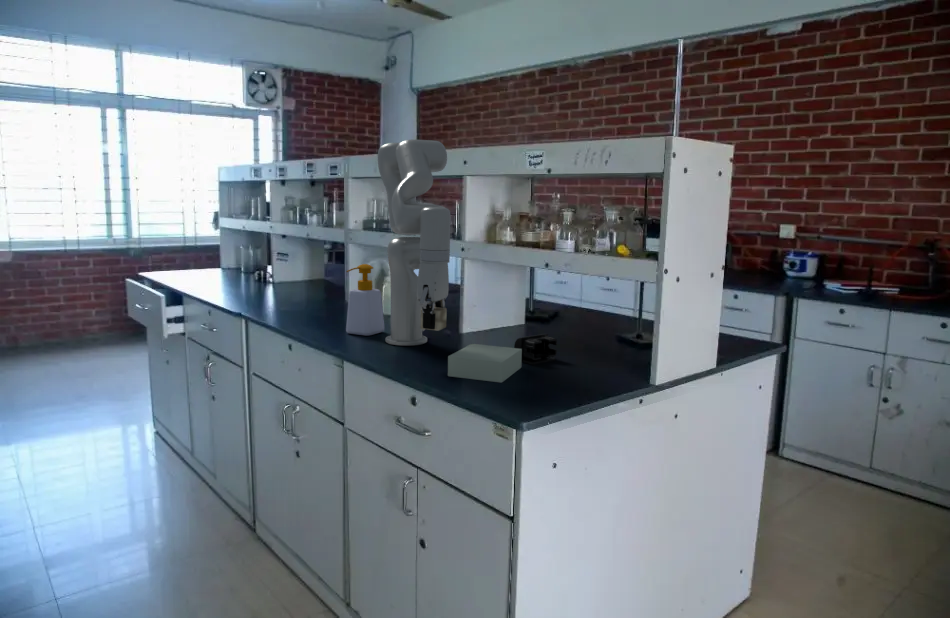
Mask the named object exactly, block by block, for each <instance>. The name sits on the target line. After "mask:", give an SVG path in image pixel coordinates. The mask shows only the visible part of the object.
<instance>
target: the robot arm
mask: <svg viewBox="0 0 950 618" xmlns="http://www.w3.org/2000/svg"><path fill="white" fill-rule="evenodd" d="M446 149H447V148H446V147H445V145H444V144H443V143H442V142H441V141H439V140H431V139H430V140H429V139H427V140H426V139H404V140H403V141H401V142H388V143H385V144H383V145H381V146H380V147H379V149H378V152H377V167H378V172H379V176H380V178H381V181H382V183H383V185H384V188H385V190H386V195H387V196H386V198H387V207H388V208H387V209H388V219H389V226H390V228H391V231H392V232H393V233H395V234H396V235H404V236H401V237H400V236H399V237H396V238H394V239H391V240H390V242H389V243H388V245H387V260H388V266H389V273H390V274H389V278H390V335H388V336H386V337H385V342H386V343H387V344H389V345H393V346H394V345H395V346H407V347H408V346H420V345H423V344H426V343H427V342H428V337H427V336H425V335H423V332H424V331H425V330H427V329H435V314H434V307H440V308H446V300H447V297H448V295H449V291H450V289H449V288H450V287H449V286H450V285H449V282H450V279H449V277H450V276H449V264H450V257H451V256H450V255H451V254H450V253H451V251H450V249H451V211H450V209H449V208H447V207H444V206H443V205H438V204H434V203H423V202H422V203H421V202H417V198H416V197H419V196H421V195H424V194H425V193H427V192H428V191H429V190H430V189H431V188H432V186H433V184H434V177H433V173H437V172H438V173H439V172H442V171H443V170H444V169H445V168H446V165H447V162H448V153H447V150H446ZM415 235H416V236H415ZM416 270H418V274H417V273H416V272H415V271H416ZM421 309H422V313H423V328H425V329H421Z"/></svg>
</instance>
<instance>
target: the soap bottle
mask: <svg viewBox="0 0 950 618" xmlns="http://www.w3.org/2000/svg"><path fill="white" fill-rule="evenodd" d="M373 269H374V267H373V266H372V265H370V264H368V263H361V264H360V265H358V266H357V267H352V268H350V269H347V270H346V273H349V272H351V271H354V270H358V273H359V274H362V279H360V280H357V288H355V289H352V290H350V291H349V293H348V303H347V313H346V326H345V332H346V333H347V334H350V335H357V336H358V335H359V336H363V337H365V336H366V337H369V336H372V335H377V334H379V333H383V332H384V331H385V322H384V319H385V318H384V310H383V301H382V300H383V299H382V292H381V290H380V289H377V288H373V280H370V279H368V277H369V276H368V274H371V273H372V270H373Z"/></svg>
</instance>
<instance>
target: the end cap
mask: <svg viewBox="0 0 950 618" xmlns="http://www.w3.org/2000/svg"><path fill="white" fill-rule="evenodd" d="M513 345H514V347H513V348H518V349H522V360H521V363H525V364H529V365H532V366H533V365H539V364H544V363H549V362H553V361H554V362H555V361H556V356H557V354H558V353H557V349H555V348H551V347H550V345H553V346H557V345H558V338H557V339H556V338H554V337H549V334H548V333H541V334H537V335H536V334H535V335H529V336H523V337H518V338H517V339H516V340H515V341H514V344H513Z"/></svg>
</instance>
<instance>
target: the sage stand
mask: <svg viewBox="0 0 950 618" xmlns="http://www.w3.org/2000/svg"><path fill="white" fill-rule="evenodd" d="M521 360H522V349H518V348H514V347H508V346H498V345H487V344H478V343H470V344H468V345H467V346H465V347H463V348H461V349H459V350H458V351H456V352H454V353H452V354H450V355H448V356H447V376H448V377H453V378H461V379H470V380H478V381H484V382H485V381H487V382H494V383H503V382H505V381H506V380H507V379H509V378H510V377H511V376H512V375H513V374H515V373H516V372H517V371H519V370H520V369H521V368H522V361H521Z"/></svg>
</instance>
